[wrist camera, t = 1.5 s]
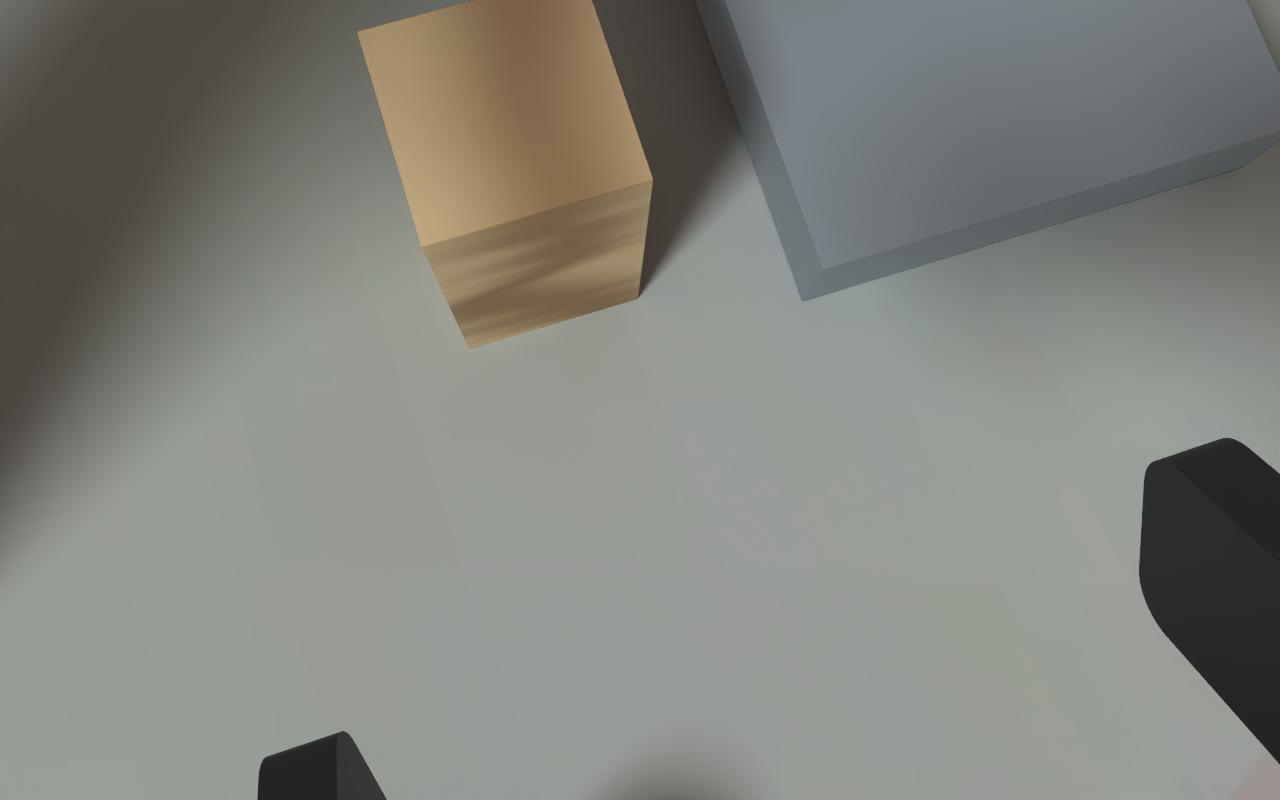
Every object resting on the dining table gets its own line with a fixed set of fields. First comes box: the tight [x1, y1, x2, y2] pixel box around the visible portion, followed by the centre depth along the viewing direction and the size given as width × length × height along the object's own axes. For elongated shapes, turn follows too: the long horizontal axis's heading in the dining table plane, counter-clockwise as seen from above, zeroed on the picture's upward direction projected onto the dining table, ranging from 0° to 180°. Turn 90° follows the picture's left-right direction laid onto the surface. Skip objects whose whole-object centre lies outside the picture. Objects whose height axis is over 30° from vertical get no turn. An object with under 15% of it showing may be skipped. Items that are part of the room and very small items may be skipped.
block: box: [357, 0, 653, 349], centre depth 28 cm, size 5×5×9 cm
